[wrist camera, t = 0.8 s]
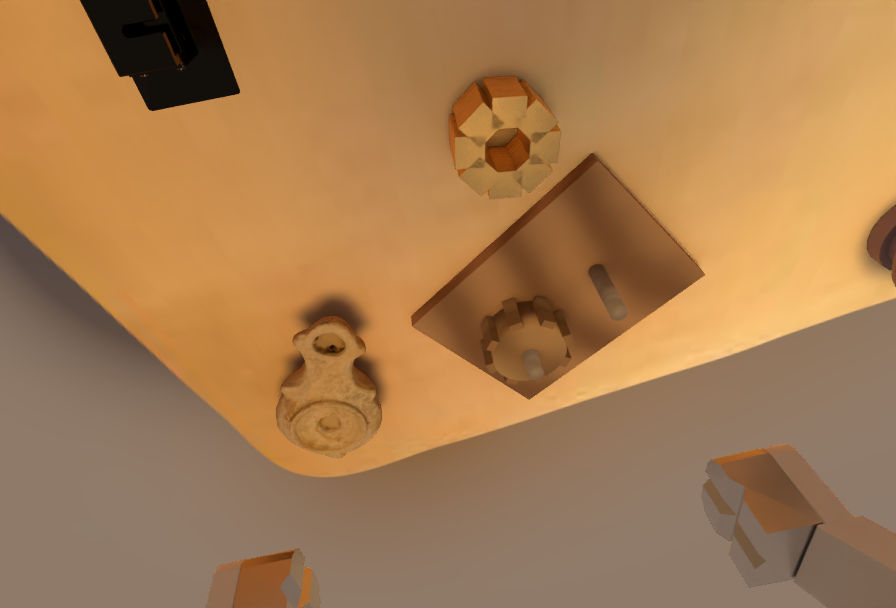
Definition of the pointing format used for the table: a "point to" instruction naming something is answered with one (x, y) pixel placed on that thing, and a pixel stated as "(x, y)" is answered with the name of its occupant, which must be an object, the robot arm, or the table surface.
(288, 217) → the table surface
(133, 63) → the black stand
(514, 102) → the brass gear
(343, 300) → the table surface
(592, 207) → the gear board
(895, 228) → the turned wooden finial
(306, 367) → the oil lamp
